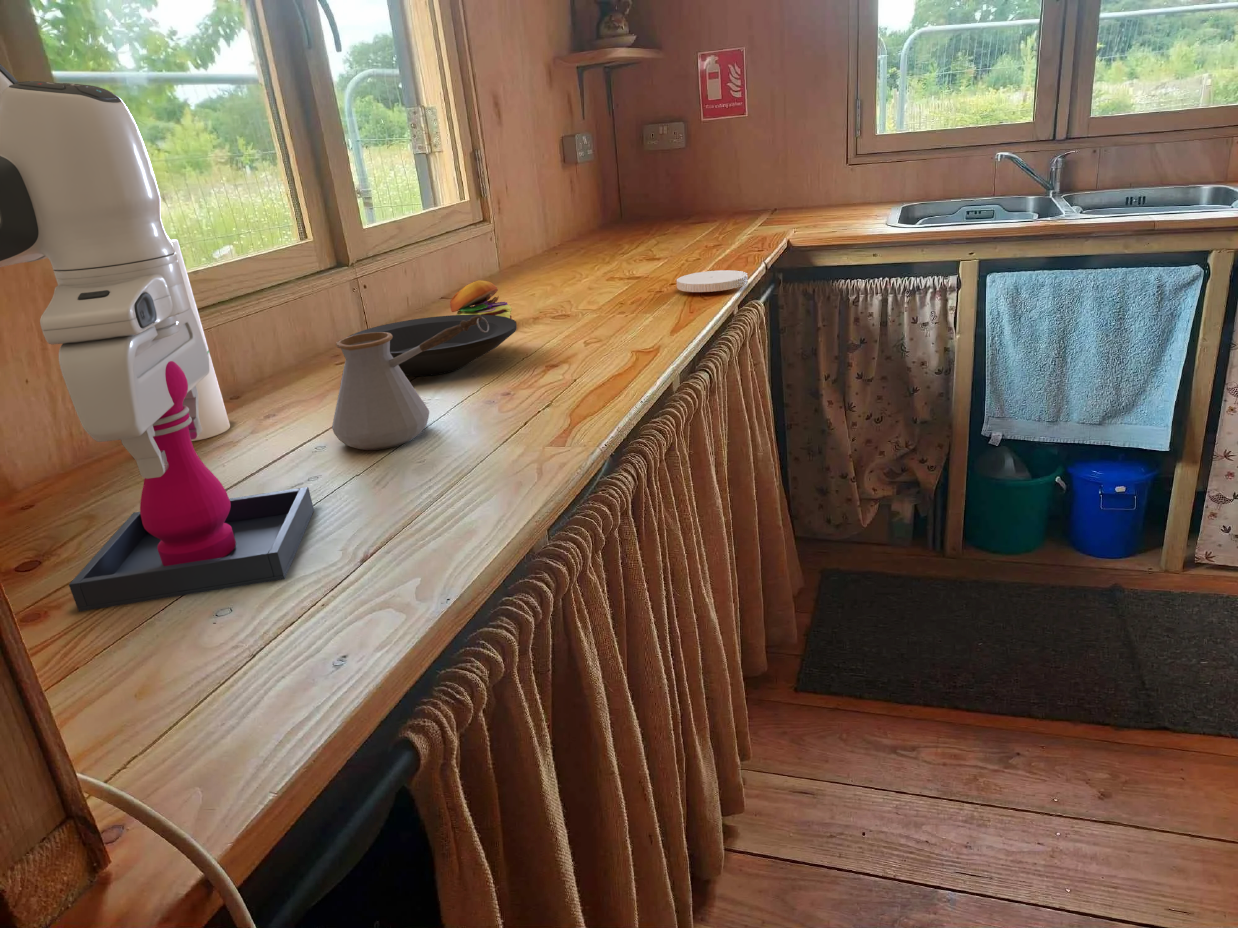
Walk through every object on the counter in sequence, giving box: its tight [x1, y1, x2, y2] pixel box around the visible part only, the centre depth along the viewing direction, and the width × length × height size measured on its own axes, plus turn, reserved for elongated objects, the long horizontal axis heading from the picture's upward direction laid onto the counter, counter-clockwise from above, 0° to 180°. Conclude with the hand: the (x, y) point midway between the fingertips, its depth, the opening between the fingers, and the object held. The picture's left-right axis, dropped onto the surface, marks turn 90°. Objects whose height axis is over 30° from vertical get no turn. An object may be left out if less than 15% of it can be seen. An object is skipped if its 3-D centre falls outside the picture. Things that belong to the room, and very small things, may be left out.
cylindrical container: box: [170, 239, 231, 442], centre depth 112 cm, size 7×7×25 cm
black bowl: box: [345, 314, 518, 377], centre depth 137 cm, size 28×24×6 cm
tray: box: [68, 486, 315, 612], centre depth 79 cm, size 17×15×3 cm
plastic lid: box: [675, 269, 748, 293], centre depth 173 cm, size 14×14×2 cm
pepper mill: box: [139, 361, 236, 566], centre depth 76 cm, size 7×7×20 cm
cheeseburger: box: [449, 279, 513, 319], centre depth 159 cm, size 10×11×10 cm
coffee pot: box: [331, 315, 489, 451], centre depth 102 cm, size 21×12×15 cm, turn 76°
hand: (174, 455), depth 76 cm, fingers open, 8 cm apart
